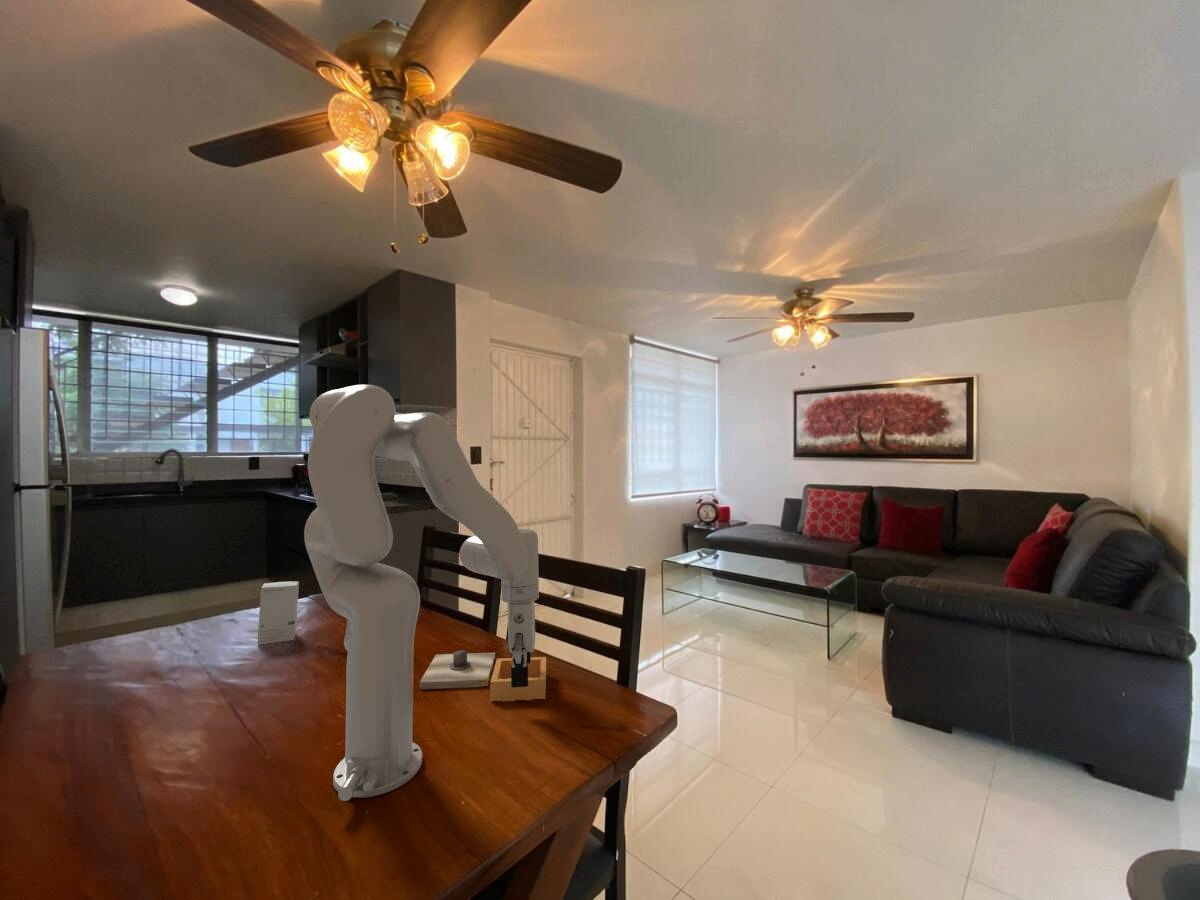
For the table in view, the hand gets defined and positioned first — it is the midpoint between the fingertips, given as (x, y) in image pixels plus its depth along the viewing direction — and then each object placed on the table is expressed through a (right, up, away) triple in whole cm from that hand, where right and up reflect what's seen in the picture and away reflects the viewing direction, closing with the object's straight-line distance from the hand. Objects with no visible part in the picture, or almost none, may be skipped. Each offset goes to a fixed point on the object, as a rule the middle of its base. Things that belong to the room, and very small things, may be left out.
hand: (521, 674), depth 96 cm
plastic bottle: (-45, -5, +23) cm, 51 cm away
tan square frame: (-1, -5, +4) cm, 6 cm away
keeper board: (-16, -5, +11) cm, 20 cm away
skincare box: (-70, -5, +29) cm, 76 cm away
